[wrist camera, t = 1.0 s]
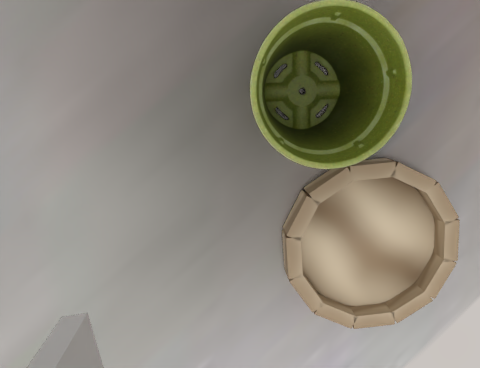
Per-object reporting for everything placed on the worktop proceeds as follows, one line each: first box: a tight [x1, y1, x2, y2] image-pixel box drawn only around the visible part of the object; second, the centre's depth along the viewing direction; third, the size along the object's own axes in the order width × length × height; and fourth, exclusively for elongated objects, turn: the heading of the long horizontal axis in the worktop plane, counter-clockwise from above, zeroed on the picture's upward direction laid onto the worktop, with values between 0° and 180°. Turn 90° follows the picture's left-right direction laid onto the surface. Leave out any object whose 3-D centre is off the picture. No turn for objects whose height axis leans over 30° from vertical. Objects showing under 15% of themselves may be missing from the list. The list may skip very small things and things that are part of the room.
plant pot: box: [250, 0, 412, 169], centre depth 26 cm, size 9×9×9 cm
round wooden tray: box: [282, 158, 459, 329], centre depth 32 cm, size 14×14×2 cm
